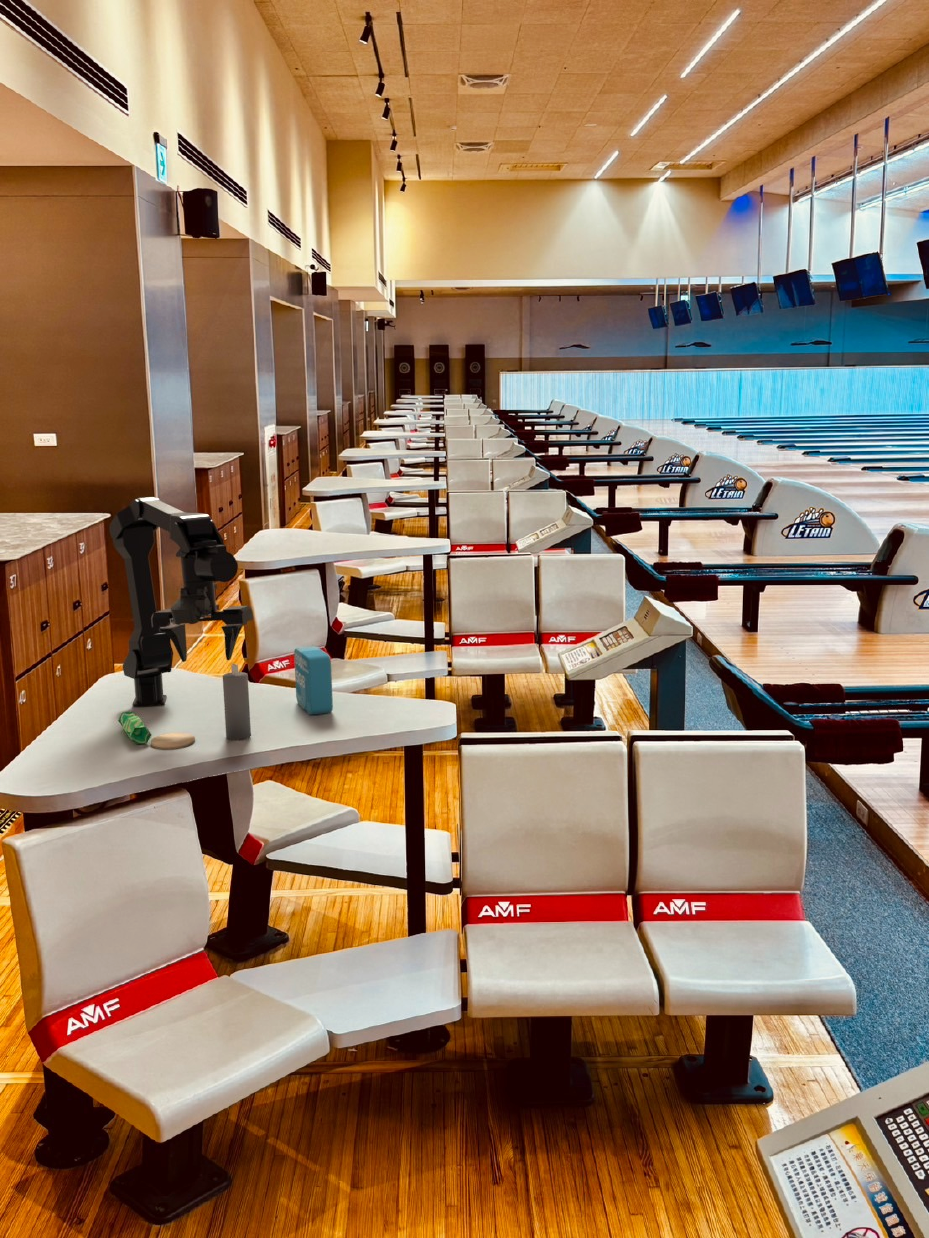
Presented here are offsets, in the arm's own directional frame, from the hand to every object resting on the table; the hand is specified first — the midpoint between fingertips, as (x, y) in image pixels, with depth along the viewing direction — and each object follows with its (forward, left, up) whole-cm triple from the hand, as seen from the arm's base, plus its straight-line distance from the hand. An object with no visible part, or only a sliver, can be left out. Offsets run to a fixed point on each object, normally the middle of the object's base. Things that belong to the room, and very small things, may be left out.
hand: (206, 660), depth 219 cm
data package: (-9, +21, -13) cm, 26 cm away
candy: (+4, -14, -13) cm, 20 cm away
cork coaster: (+9, -6, -13) cm, 17 cm away
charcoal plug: (+8, +6, -13) cm, 16 cm away
